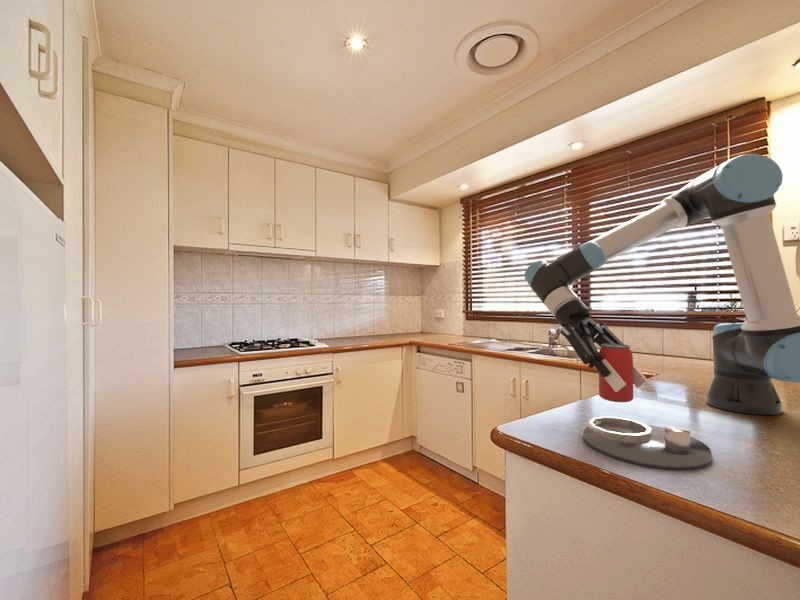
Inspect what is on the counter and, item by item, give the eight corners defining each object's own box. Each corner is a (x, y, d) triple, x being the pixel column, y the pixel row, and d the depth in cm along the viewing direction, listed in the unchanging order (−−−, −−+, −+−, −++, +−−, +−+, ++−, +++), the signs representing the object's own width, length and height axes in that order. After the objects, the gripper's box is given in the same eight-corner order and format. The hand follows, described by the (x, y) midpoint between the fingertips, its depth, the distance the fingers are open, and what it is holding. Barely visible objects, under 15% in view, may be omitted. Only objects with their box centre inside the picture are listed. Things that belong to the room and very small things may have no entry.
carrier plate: (673, 429, 85) (672, 407, 85) (742, 474, 63) (741, 444, 63) (572, 424, 89) (571, 403, 89) (604, 465, 67) (603, 437, 67)
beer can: (628, 396, 83) (628, 343, 83) (637, 404, 77) (636, 347, 76) (596, 394, 85) (595, 342, 85) (602, 401, 79) (601, 346, 79)
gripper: (584, 317, 99) (647, 390, 84) (530, 320, 90) (589, 401, 76) (602, 297, 94) (672, 371, 79) (546, 298, 86) (613, 381, 71)
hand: (631, 386), depth 77 cm, fingers closed on beer can, 6 cm apart
